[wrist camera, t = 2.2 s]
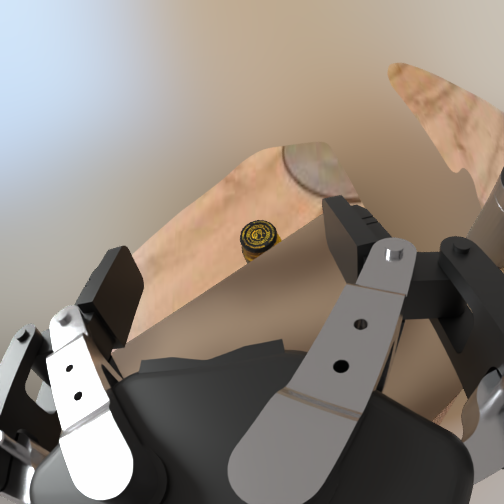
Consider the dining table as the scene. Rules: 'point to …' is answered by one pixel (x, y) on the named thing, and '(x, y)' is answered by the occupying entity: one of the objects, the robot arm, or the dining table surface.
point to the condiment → (258, 239)
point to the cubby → (292, 321)
